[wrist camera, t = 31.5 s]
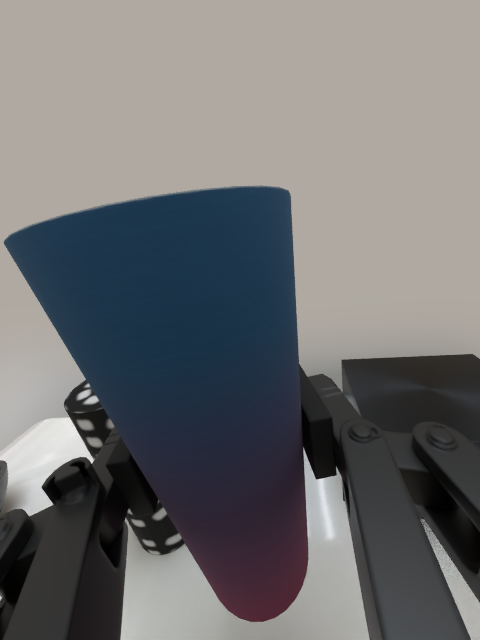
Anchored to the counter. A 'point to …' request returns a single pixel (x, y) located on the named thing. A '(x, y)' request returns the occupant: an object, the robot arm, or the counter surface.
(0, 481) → the bowl
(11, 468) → the counter surface
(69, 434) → the counter surface
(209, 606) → the counter surface
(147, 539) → the spotted tube
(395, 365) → the drawer box
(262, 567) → the cup
